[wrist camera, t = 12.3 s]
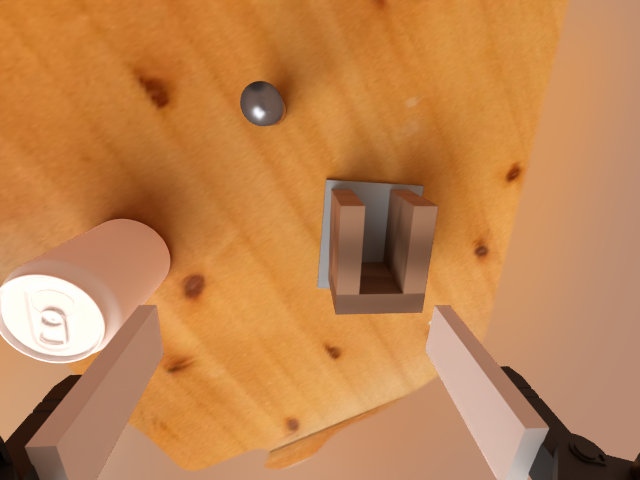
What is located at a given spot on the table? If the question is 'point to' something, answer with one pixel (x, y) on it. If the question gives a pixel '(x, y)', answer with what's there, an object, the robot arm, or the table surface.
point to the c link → (399, 255)
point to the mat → (374, 222)
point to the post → (262, 104)
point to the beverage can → (82, 291)
